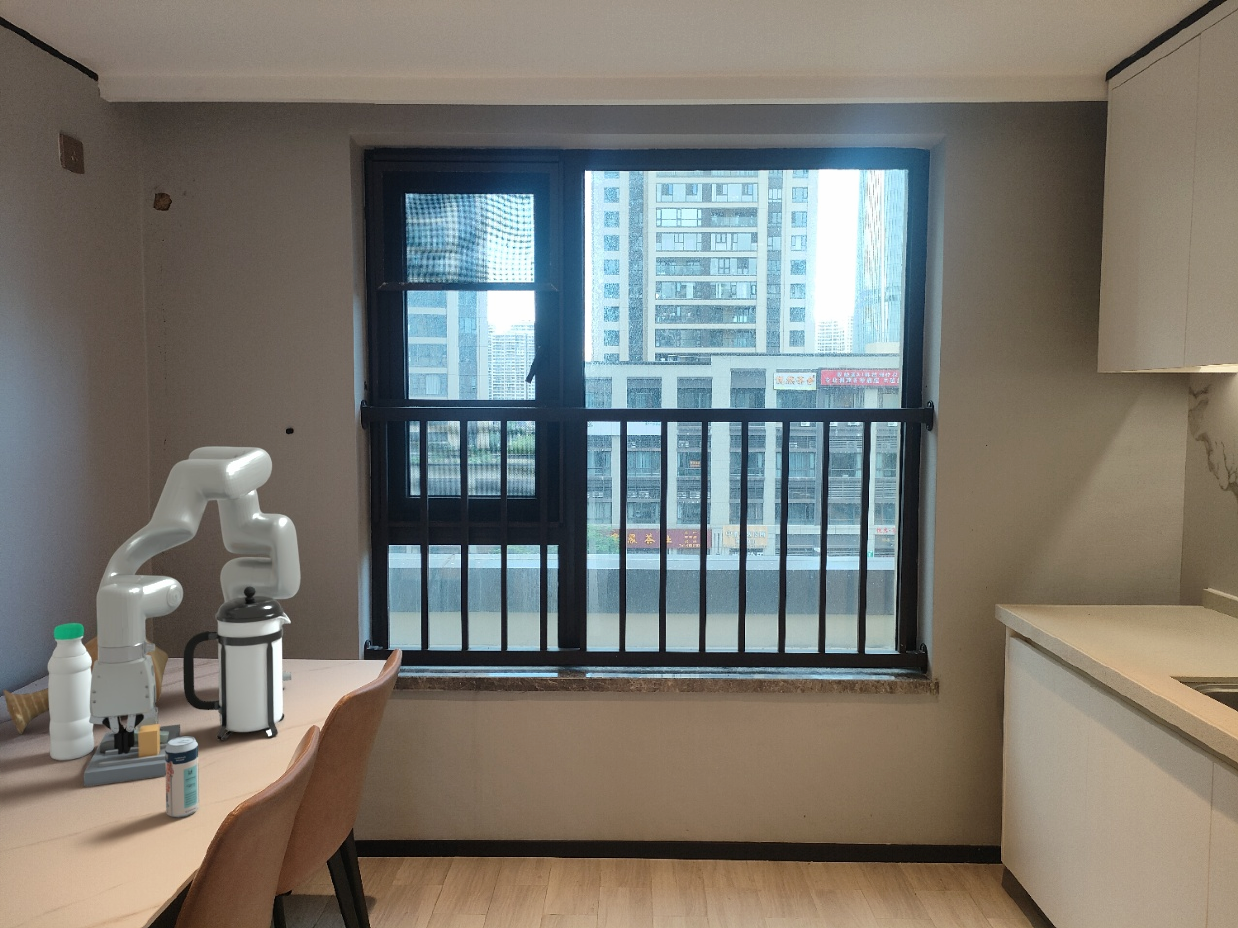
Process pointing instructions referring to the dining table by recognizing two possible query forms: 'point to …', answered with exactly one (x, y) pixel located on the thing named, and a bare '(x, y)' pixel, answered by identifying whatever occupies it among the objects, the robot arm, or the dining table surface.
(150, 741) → the orange fader
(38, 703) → the jug
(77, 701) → the water bottle
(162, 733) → the block
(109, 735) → the panel
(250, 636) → the coffee press
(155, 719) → the ivory fader
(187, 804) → the beer can
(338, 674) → the dining table surface
